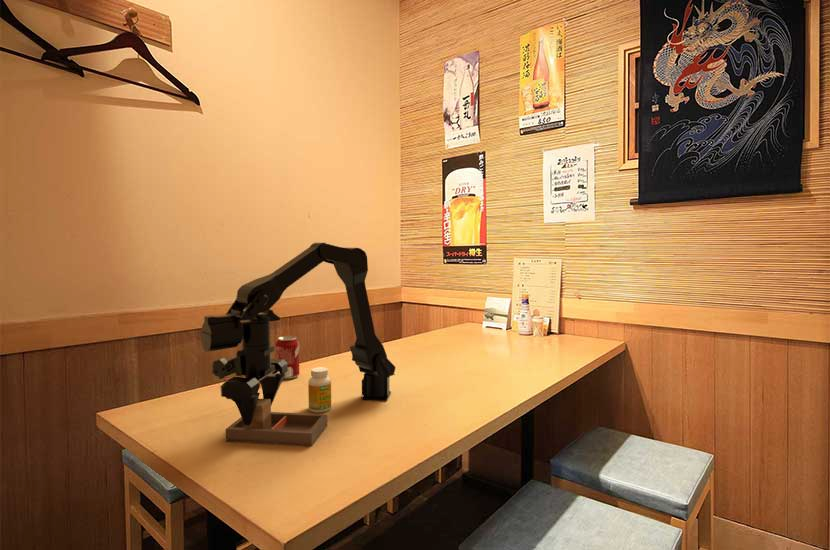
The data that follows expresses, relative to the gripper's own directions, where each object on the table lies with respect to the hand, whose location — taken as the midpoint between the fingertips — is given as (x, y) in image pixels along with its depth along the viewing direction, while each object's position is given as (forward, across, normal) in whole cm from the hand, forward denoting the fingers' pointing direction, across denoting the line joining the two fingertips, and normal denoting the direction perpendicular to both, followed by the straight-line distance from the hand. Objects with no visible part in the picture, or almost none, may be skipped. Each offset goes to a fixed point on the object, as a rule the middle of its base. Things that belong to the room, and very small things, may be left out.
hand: (258, 416), depth 96 cm
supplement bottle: (+4, -15, +8) cm, 18 cm away
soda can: (+4, -39, -10) cm, 40 cm away
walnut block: (+3, 0, 0) cm, 3 cm away
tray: (+4, 0, +4) cm, 6 cm away
